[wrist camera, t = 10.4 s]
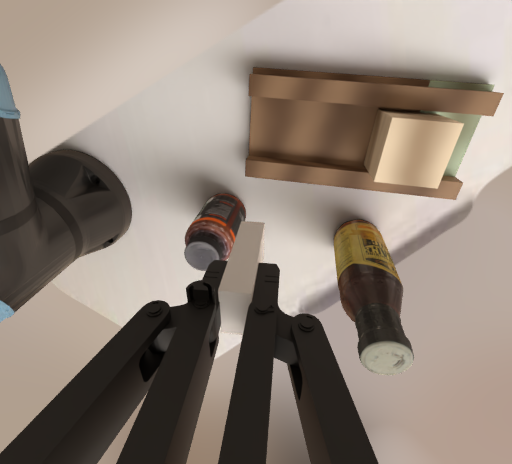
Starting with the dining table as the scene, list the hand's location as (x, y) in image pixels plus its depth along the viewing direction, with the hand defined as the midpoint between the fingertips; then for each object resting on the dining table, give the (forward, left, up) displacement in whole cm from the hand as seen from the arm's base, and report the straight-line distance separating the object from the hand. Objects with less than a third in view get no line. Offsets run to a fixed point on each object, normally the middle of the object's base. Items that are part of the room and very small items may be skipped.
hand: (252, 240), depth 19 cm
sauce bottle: (+12, -10, -20) cm, 25 cm away
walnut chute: (+8, +4, -20) cm, 22 cm away
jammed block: (+13, +4, -19) cm, 23 cm away
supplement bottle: (-7, -8, -20) cm, 23 cm away
